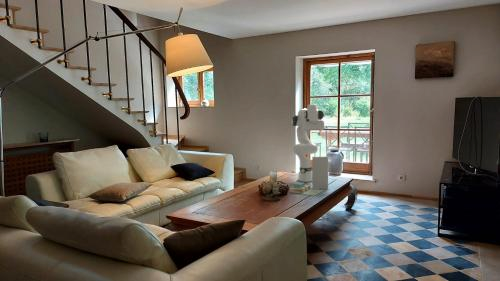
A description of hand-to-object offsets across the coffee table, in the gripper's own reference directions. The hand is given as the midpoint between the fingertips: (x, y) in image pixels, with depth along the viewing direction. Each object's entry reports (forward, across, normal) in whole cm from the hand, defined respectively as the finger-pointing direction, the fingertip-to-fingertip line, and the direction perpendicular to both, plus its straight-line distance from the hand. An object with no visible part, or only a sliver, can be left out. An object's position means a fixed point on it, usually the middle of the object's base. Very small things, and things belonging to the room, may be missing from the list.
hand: (314, 134), depth 323 cm
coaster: (+46, +16, -12) cm, 50 cm away
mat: (+53, +5, -5) cm, 53 cm away
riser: (+50, +15, -13) cm, 54 cm away
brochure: (+48, -6, -19) cm, 52 cm away
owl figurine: (+58, +45, +10) cm, 74 cm away
